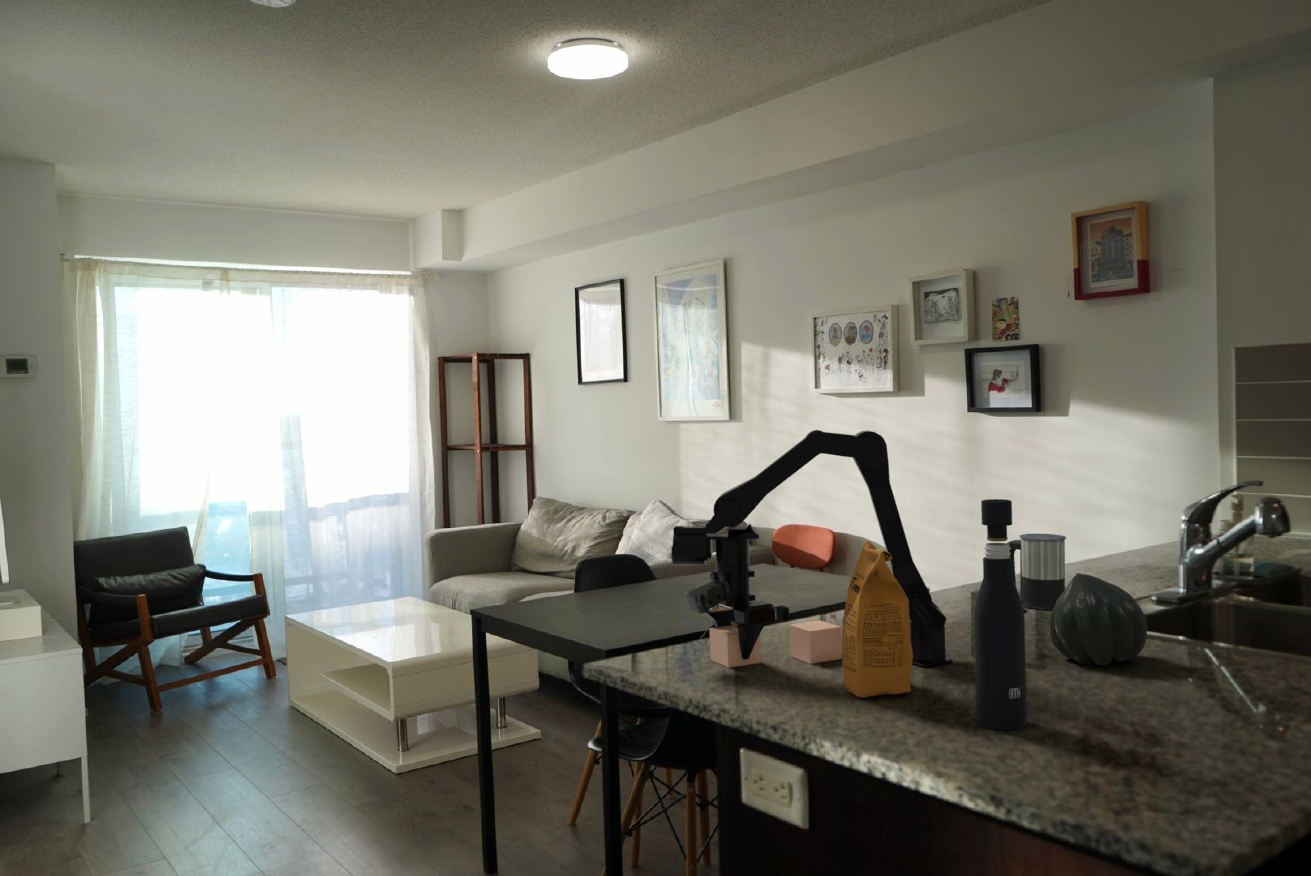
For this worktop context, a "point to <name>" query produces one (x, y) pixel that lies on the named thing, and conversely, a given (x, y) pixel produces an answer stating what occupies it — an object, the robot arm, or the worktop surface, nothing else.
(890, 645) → the coffee package
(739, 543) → the robot arm
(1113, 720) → the worktop surface
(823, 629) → the pink rectangular prism
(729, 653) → the pink block
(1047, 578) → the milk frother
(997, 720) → the navy water bottle
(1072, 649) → the squash
